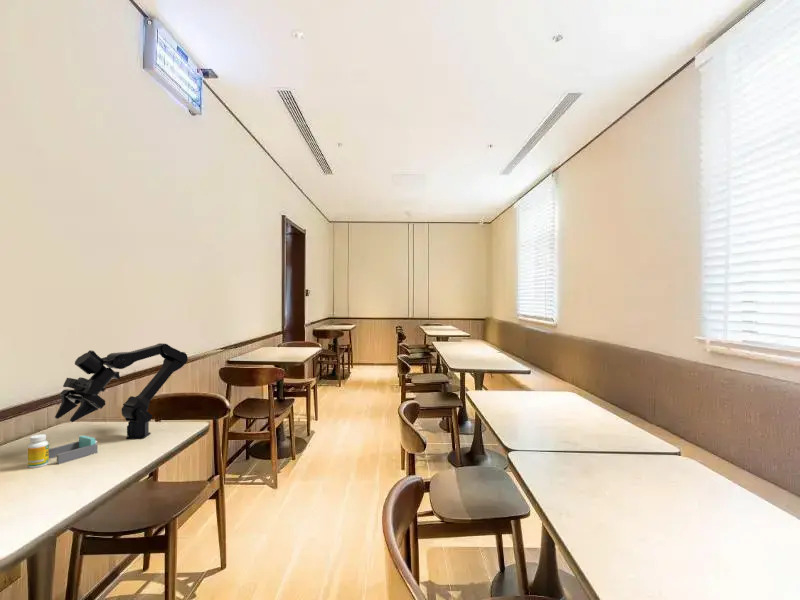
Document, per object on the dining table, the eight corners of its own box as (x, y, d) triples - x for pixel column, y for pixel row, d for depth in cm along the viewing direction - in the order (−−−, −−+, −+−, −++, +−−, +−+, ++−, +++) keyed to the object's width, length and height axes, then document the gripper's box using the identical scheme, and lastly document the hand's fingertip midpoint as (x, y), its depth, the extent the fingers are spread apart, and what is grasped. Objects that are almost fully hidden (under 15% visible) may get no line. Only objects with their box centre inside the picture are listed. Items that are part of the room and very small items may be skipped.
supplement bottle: (27, 464, 144) (27, 435, 144) (48, 461, 147) (48, 432, 147) (27, 469, 140) (27, 439, 140) (48, 465, 143) (48, 436, 143)
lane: (88, 446, 162) (88, 433, 162) (104, 450, 157) (104, 436, 157) (42, 459, 149) (42, 444, 149) (58, 464, 144) (58, 448, 144)
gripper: (65, 366, 159) (29, 403, 149) (96, 370, 151) (59, 409, 141) (89, 384, 166) (55, 421, 156) (119, 389, 158) (86, 427, 148)
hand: (63, 419), depth 150 cm, fingers open, 9 cm apart
